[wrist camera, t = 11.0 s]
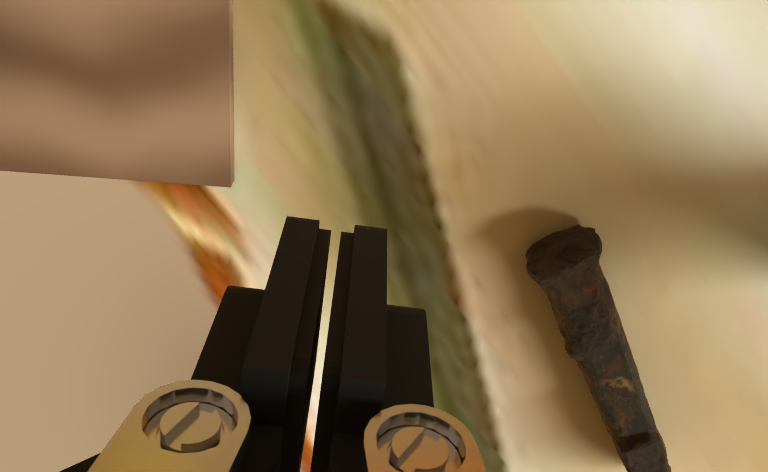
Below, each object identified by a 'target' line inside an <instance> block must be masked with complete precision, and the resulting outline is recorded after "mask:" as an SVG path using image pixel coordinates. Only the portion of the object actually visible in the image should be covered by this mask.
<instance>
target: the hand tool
mask: <svg viewBox="0 0 768 472" xmlns="http://www.w3.org/2000/svg"><path fill="white" fill-rule="evenodd" d="M601 252H602V241H601V239H600V237H599V236H598V235H597V234H596V233H595V229H593V228H589V227H587V228H585V227H581V226H574V227H572V228H570V229H568V230H565V231H561V232H557V233H554V234H552V235H550V236H547V237H545V238H543V239H541V240H540V241H539V242H537V243H535V244H533V245H532V246H531V247H530V248H529V249H528V251H527V254H526V258H527V259H528V262H527V265H526V267H527V271H528V273H529V275H530V276H531V277H532V279H534V280H535V281H536V282H537V283H539V284H540V285H541V286H542V288H543V289H544V290H545V291H546V292H547V293H548V297H549V300H550V302H551V304H552V309H553V312H554V314H555V316H556V320H557V322H558V325H559V329H560V332H561V333H562V336H563V337H564V339H565V348H566V351H567V353H568V354H569V356H570V357H571V358H574V359H575V360H576V361H577V362H578V365H579V367H580V369H581V371H582V372H583V375H584V377H585V379H586V381H587V383H588V385H589V388H590V390H591V393H592V395H593V397H594V399H595V402H596V404H597V406H598V409H599V411H600V413H601V416H602V419H603V420H604V423H605V425H606V427H607V429H608V432H609V433H610V435H611V436H612V438H613V441H614V444H615V446H616V449H617V452H618V454H619V456H620V458H621V460H622V462H623V464H624V466H625V468H626V470H627V472H671V467H670V466H669V464H668V460H667V454H666V448H665V445H664V442H663V439H662V437H661V435H660V433H659V432H658V430H657V428H656V425H655V421H654V418H653V415H652V412H651V410H650V407H649V404H648V401H647V399H646V397H645V393H644V389H643V386H642V383H641V381H640V377H639V373H638V370H637V367H636V364H635V362H634V359H633V356H632V353H631V349H630V347H629V344H628V342H627V339H626V336H625V333H624V330H623V327H622V324H621V321H620V317H619V315H618V312H617V310H616V307H615V304H614V301H613V298H612V295H611V292H610V289H609V285H608V283H607V281H606V279H605V277H604V275H603V273H602V270H601V267H600V264H599V258H600V255H601Z"/></svg>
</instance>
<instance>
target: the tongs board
mask: <svg viewBox="0 0 768 472" xmlns="http://www.w3.org/2000/svg"><path fill="white" fill-rule="evenodd" d="M0 171H14V172H27V173H41V174H55V175H68V176H82V177H97V178H110V179H123V180H137V181H151V182H164V183H178V184H192V185H206V186H219V187H231V186H232V184H233V181H234V103H233V0H0Z"/></svg>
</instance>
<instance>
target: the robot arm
mask: <svg viewBox="0 0 768 472" xmlns="http://www.w3.org/2000/svg"><path fill="white" fill-rule="evenodd" d="M330 236H331V230H324V229H319V220H312V219H305V218H297V217H289V216H287V218H286V221H285V224H284V228H283V231H282V234H281V238H280V241H279V245H278V248H277V251H276V255H275V258H274V262H273V265H272V268H271V272H270V275H269V278H268V282H267V285H266V289H265V290H262V289H253V288H245V287H237V286H228V287H227V289H226V291H225V293H224V296H223V298H222V301H221V304H220V306H219V309H218V311H217V314H216V316H215V319H214V322H213V324H212V327H211V329H210V332H209V335H208V337H207V339H206V342H205V345H204V347H203V350H202V352H201V355H200V358H199V360H198V363H197V365H196V368H195V370H194V373H193V375H192V378H191V380H186V381H177V382H173V383H170V384H167V385H164V386H160V387H159V388H157V389H155V390H153V391H151V392H150V393H148V394H146V395H145V396H144V397H143V398H142V399H141V400H140V401H139V402H138V403H137V404H136V405H135V406H134V407H133V409H132V410H131V411H130V413H129V414H128V416H127V417H126V418H125V420H124V421H123V423H122V424H121V425H120V427H119V428H118V430H117V431H116V432H115V434H114V435H113V437H112V438H111V440H110V441H109V442H108V444H107V445H106V447H105V448H104V449H103V451H102V452H101V453H99V454H97V455H95V456H93V457H91V458H88V459H86V460H84V461H82V462H80V463H78V464H75V465H73V466H71V467H69V468H67V469H64V470H62V471H60V472H300V466H301V459H302V453H303V446H304V439H305V432H306V426H307V419H308V412H309V406H310V399H311V392H312V385H313V379H314V371H315V364H316V355H317V347H318V338H319V330H320V321H321V313H322V304H323V296H324V287H325V279H326V270H327V262H328V253H329V245H330ZM310 472H486V469H485V466H484V464H483V461H482V458H481V455H480V452H479V449H478V446H477V444H476V442H475V440H474V438H473V436H472V434H471V433H470V431H469V430H468V429H467V428H466V427H465V426H464V425H463V424H462V423H461V422H460V421H459V420H458V419H456V418H454V417H453V416H451V415H449V414H448V413H446V412H444V411H442V410H439V409H436V408H434V404H433V392H432V380H431V368H430V356H429V344H428V332H427V320H426V312H425V310H424V309H419V308H410V307H402V306H394V305H387V229H383V228H375V227H367V226H360V225H355V228H354V233H348V232H341V238H340V246H339V254H338V261H337V269H336V276H335V284H334V292H333V299H332V307H331V314H330V322H329V330H328V337H327V345H326V352H325V360H324V368H323V375H322V383H321V391H320V399H319V407H318V415H317V423H316V431H315V439H314V447H313V455H312V463H311V471H310Z"/></svg>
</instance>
